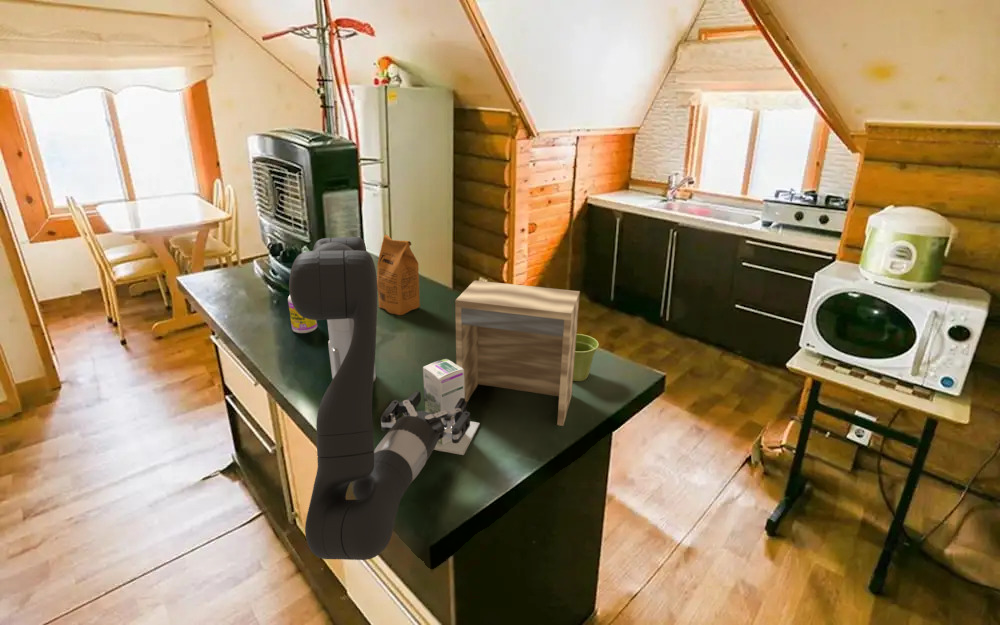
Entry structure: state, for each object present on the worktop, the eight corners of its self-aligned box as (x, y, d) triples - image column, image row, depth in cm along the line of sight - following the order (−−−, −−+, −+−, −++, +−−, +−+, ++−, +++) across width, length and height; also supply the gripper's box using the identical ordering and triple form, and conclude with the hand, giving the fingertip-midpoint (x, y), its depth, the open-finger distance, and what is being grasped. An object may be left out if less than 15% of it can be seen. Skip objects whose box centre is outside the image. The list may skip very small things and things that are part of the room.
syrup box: (466, 434, 103) (466, 367, 98) (441, 446, 100) (439, 377, 94) (449, 421, 107) (448, 356, 102) (424, 432, 104) (421, 365, 98)
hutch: (563, 426, 107) (571, 313, 98) (457, 408, 113) (455, 300, 103) (571, 395, 118) (579, 291, 109) (474, 380, 123) (474, 280, 114)
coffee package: (399, 298, 171) (395, 230, 162) (424, 309, 163) (421, 238, 155) (373, 307, 164) (367, 236, 156) (398, 318, 156) (393, 245, 148)
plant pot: (603, 381, 124) (606, 348, 121) (566, 388, 121) (569, 354, 118) (583, 363, 132) (586, 331, 129) (548, 369, 129) (550, 336, 126)
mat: (463, 455, 98) (463, 452, 98) (412, 445, 101) (412, 443, 100) (479, 424, 107) (479, 422, 107) (432, 417, 110) (432, 414, 109)
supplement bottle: (286, 331, 147) (280, 287, 142) (303, 322, 152) (297, 279, 147) (306, 335, 144) (300, 290, 139) (322, 326, 150) (317, 283, 145)
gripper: (446, 438, 79) (478, 386, 94) (359, 423, 83) (403, 375, 97) (447, 480, 82) (478, 422, 97) (363, 464, 85) (405, 410, 100)
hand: (440, 398), depth 97 cm, fingers open, 8 cm apart
